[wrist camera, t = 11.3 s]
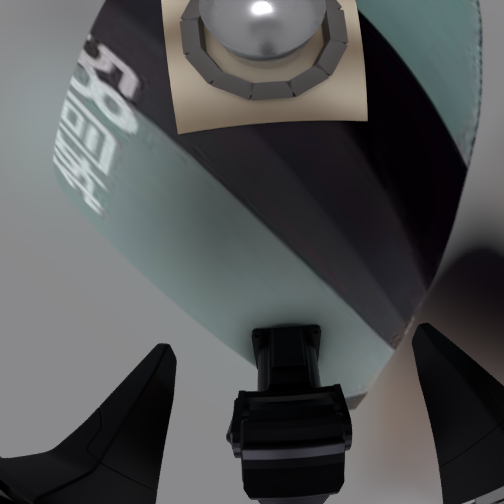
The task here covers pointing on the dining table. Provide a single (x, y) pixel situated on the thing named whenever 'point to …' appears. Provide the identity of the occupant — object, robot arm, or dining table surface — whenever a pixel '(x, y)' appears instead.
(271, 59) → the cylinder
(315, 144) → the dining table surface
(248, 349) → the dining table surface
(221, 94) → the ring seat
